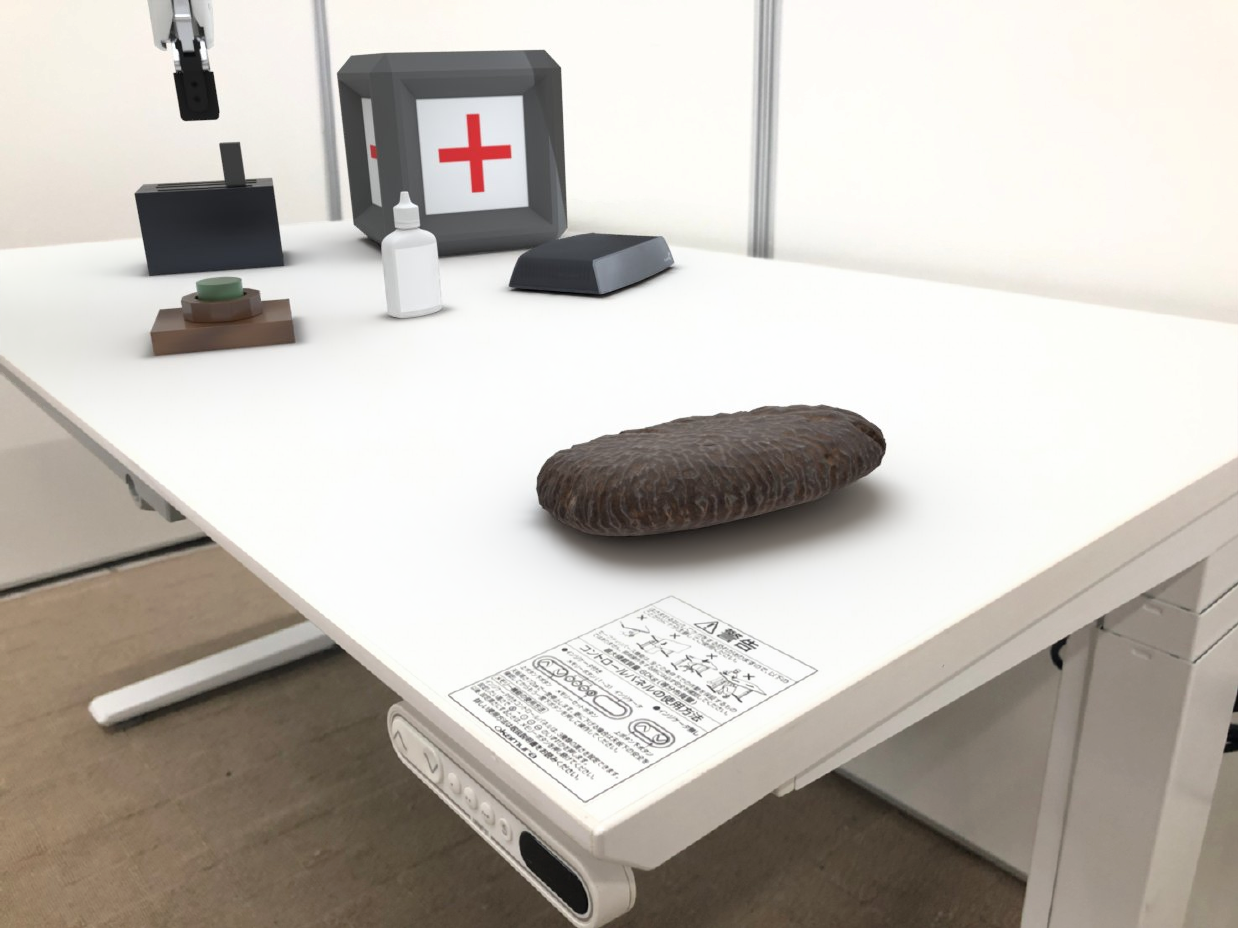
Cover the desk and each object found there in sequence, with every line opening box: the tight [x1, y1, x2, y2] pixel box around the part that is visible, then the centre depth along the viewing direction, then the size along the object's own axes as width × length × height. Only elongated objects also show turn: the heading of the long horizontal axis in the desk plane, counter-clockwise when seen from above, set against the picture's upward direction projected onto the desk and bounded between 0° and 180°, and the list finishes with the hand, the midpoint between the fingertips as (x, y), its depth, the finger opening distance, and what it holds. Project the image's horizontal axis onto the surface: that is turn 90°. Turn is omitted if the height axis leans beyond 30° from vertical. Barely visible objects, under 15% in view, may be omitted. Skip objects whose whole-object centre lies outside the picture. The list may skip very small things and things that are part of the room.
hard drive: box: [508, 232, 675, 295], centre depth 121 cm, size 13×19×4 cm
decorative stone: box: [535, 403, 887, 537], centre depth 59 cm, size 20×14×5 cm
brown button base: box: [149, 287, 296, 357], centre depth 99 cm, size 12×10×4 cm
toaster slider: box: [218, 141, 246, 186], centre depth 130 cm, size 2×2×5 cm
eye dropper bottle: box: [380, 192, 443, 319], centre depth 105 cm, size 4×6×12 cm
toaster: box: [133, 177, 285, 277], centre depth 135 cm, size 16×11×10 cm
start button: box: [195, 276, 244, 301], centre depth 98 cm, size 4×4×2 cm
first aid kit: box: [336, 49, 569, 257], centre depth 145 cm, size 25×25×25 cm
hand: (201, 118), depth 97 cm, fingers open, 9 cm apart
